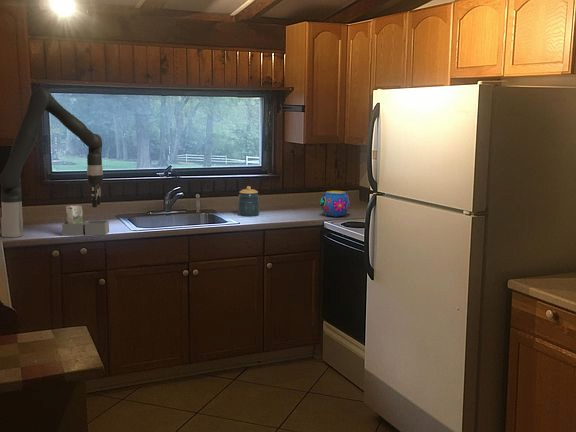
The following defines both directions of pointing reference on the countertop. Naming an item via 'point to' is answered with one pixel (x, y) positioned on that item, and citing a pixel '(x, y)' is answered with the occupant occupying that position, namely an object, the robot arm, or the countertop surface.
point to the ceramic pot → (335, 203)
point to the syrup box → (74, 214)
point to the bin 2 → (96, 227)
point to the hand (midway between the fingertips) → (96, 205)
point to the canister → (248, 202)
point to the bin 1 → (73, 229)
